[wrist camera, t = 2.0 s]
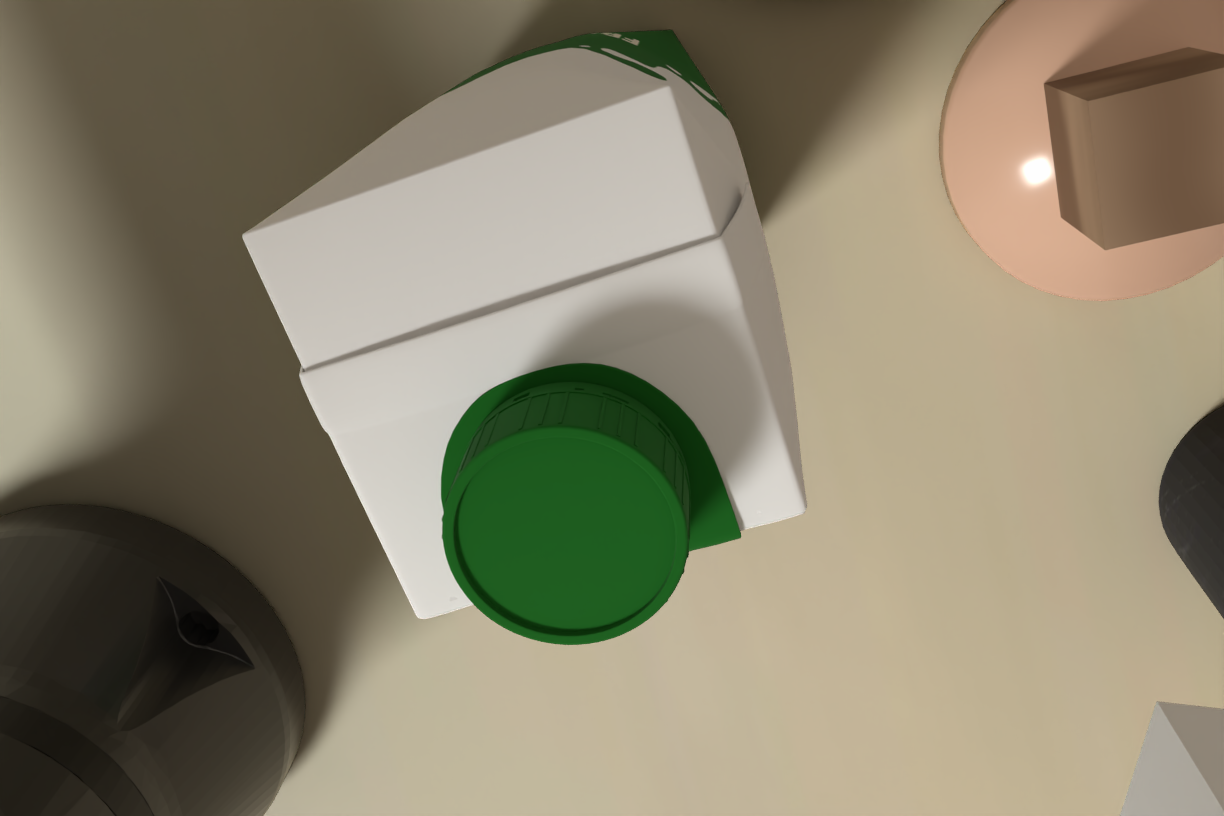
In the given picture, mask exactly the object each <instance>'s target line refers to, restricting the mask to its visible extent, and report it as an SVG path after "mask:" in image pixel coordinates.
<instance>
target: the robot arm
mask: <svg viewBox="0 0 1224 816" xmlns="http://www.w3.org/2000/svg"><path fill="white" fill-rule="evenodd" d="M304 719H305V692H304V685H303V679H302V675H301V670H300V666H299V663H298V660H297V657H296V654H295V651H294V649H293V646H292V644H291V641H290V639H289V637H288V635H287V633H286V631H285V629H284V628H283V626H282V624H281V623H280V621H279V619H278V617H277V616H276V614H275V613H274V612H273V610H272V609H271V607H270V606H269V604H268V603H267V602H266V601H265V599H264V598H263V597H262V596H261V594H260V593H259V592H258V591H257V590H256V589H255V588H254V587H253V585H252V584H251V583H250V582H249V581H248V580H247V579H246V578H245V577H244V576H243V575H242V574H241V573H240V572H239V571H237V570H236V569H235V568H234V567H233V566H232V565H230V564H229V563H228V562H227V561H226V560H224V559H223V558H222V557H220V556H219V555H218V554H216V553H215V552H213V551H212V550H210V549H209V548H207V547H206V546H204V545H203V544H201V543H200V542H198V541H196V540H194V539H193V538H191V537H189V536H187V535H186V534H184V533H182V532H180V531H178V530H175V529H173V528H171V527H169V526H167V525H164V524H162V523H159V522H157V521H154V520H151V519H149V518H146V517H143V516H140V515H136V514H132V513H129V512H125V511H120V510H116V509H111V508H104V507H97V506H87V505H50V506H42V507H34V508H29V509H25V510H20V511H16V512H13V513H10V514H6V515H4V516H1V517H0V816H264V814H265V813H266V811H267V810H268V809H269V807H270V806H271V804H272V802H273V801H274V799H275V797H276V795H277V793H278V791H279V789H280V787H281V785H282V783H283V781H284V779H285V777H286V775H287V773H288V771H289V769H290V766H291V764H292V762H293V760H294V758H295V755H296V753H297V750H298V747H299V744H300V741H301V737H302V733H303V727H304ZM1120 816H1224V709H1220V708H1211V707H1202V706H1193V705H1184V704H1175V703H1167V702H1158V701H1157V702H1156V705H1155V708H1154V711H1153V714H1152V718H1151V721H1150V724H1149V727H1148V730H1147V733H1146V736H1145V739H1144V742H1143V746H1142V749H1141V752H1140V755H1139V758H1138V761H1137V764H1136V767H1135V770H1134V774H1133V777H1132V780H1131V783H1130V786H1129V789H1128V792H1127V795H1126V798H1125V802H1124V805H1123V808H1122V811H1121V814H1120Z"/></svg>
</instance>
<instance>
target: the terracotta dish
mask: <svg viewBox="0 0 1224 816" xmlns="http://www.w3.org/2000/svg"><path fill="white" fill-rule="evenodd" d="M1186 47H1191V48H1196V49H1201V50H1205V51H1210V52H1215V53H1219V54H1224V0H1007V1H1006V2H1005V3H1004V4H1003V5H1001V6H1000V7H999V8H998V9H997V10H996V11H995V12H994V14H993V15H992V16H991V17H990V18H989V19H988V20H987V21H986V23H985V24H984V25H983V26H982V27H981V28H980V30H979V31H978V33H977V34H976V36H975V37H974V38H973V40H972V41H971V43H970V44H969V45H968V47H967V49H966V51H965V52H964V54H963V56H962V58H961V60H960V62H959V64H958V65H957V67H956V70H955V72H954V75H953V77H952V80H951V82H950V85H949V87H948V90H947V94H946V98H945V101H944V105H943V109H942V115H941V122H940V130H939V158H940V165H941V173H942V178H943V182H944V185H945V189H946V192H947V196H948V198H949V201H950V203H951V205H952V207H953V210H954V212H955V214H956V216H957V218H958V219H959V221H960V222H961V224H962V225H963V227H964V229H965V230H966V232H967V233H968V234H969V235H970V237H971V238H972V239H973V240H974V241H975V242H976V244H977V245H978V246H979V247H980V248H981V249H982V250H983V251H984V252H985V253H986V254H987V255H988V257H990V258H991V259H992V260H993V261H994V262H995V263H996V264H998V265H999V266H1000V267H1001V268H1002V269H1003V270H1005V271H1006V272H1008V273H1009V274H1011V275H1012V276H1014V277H1015V278H1017V279H1018V280H1020V281H1022V282H1024V283H1026V284H1028V285H1030V286H1032V287H1034V288H1037V289H1039V290H1041V291H1045V292H1048V293H1051V294H1054V295H1057V296H1061V297H1067V298H1073V299H1079V300H1096V301H1107V300H1119V299H1128V298H1132V297H1137V296H1142V295H1147V294H1150V293H1153V292H1157V291H1160V290H1163V289H1166V288H1169V287H1171V286H1173V285H1176V284H1178V283H1180V282H1182V281H1184V280H1187V279H1189V278H1191V277H1193V276H1194V275H1196V274H1198V273H1199V272H1201V271H1203V270H1204V269H1206V268H1208V267H1209V266H1211V265H1212V264H1214V263H1215V262H1216V261H1218V260H1219V259H1220V258H1222V257H1223V256H1224V223H1223V224H1218V225H1214V226H1210V227H1205V228H1201V229H1197V230H1192V231H1188V232H1183V233H1179V234H1175V235H1170V236H1166V237H1162V238H1157V239H1153V240H1149V241H1144V242H1140V243H1136V244H1131V245H1127V246H1123V247H1118V248H1114V249H1109V250H1104V249H1103V248H1101V247H1100V246H1099V245H1097V244H1096V243H1094V242H1093V241H1092V240H1090V239H1089V238H1088V237H1086V236H1085V235H1084V234H1082V233H1081V232H1080V231H1078V230H1077V229H1076V228H1074V227H1073V226H1072V225H1070V224H1069V223H1068V222H1066V221H1065V220H1063V219H1062V218H1061V215H1060V208H1059V200H1058V192H1057V184H1056V176H1055V169H1054V161H1053V153H1052V145H1051V137H1050V129H1049V122H1048V114H1047V106H1046V98H1045V90H1044V83H1047V82H1051V81H1055V80H1059V79H1063V78H1067V77H1071V76H1075V75H1079V74H1083V73H1087V72H1091V71H1095V70H1099V69H1103V68H1107V67H1111V66H1115V65H1119V64H1123V63H1127V62H1131V61H1135V60H1139V59H1143V58H1147V57H1151V56H1155V55H1159V54H1163V53H1166V52H1170V51H1174V50H1178V49H1182V48H1186Z"/></svg>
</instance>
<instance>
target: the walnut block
mask: <svg viewBox="0 0 1224 816" xmlns="http://www.w3.org/2000/svg"><path fill="white" fill-rule="evenodd" d="M1044 90H1045V98H1046V106H1047V114H1048V122H1049V129H1050V137H1051V145H1052V153H1053V161H1054V169H1055V176H1056V184H1057V192H1058V200H1059V208H1060V215H1061V218H1062V219H1063V220H1065V221H1066V222H1068V223H1069V224H1070V225H1072V226H1073V227H1074V228H1076V229H1077V230H1078V231H1080V232H1081V233H1082V234H1084V235H1085V236H1086V237H1088V238H1089V239H1090V240H1092V241H1093V242H1094V243H1096V244H1097V245H1099V246H1100V247H1101V248H1103V249H1104V250H1109V249H1114V248H1118V247H1123V246H1127V245H1131V244H1136V243H1140V242H1144V241H1149V240H1153V239H1157V238H1162V237H1166V236H1170V235H1175V234H1179V233H1183V232H1188V231H1192V230H1197V229H1201V228H1205V227H1210V226H1214V225H1218V224H1223V223H1224V54H1219V53H1215V52H1210V51H1205V50H1201V49H1196V48H1191V47H1186V48H1182V49H1178V50H1174V51H1170V52H1166V53H1163V54H1159V55H1155V56H1151V57H1147V58H1143V59H1139V60H1135V61H1131V62H1127V63H1123V64H1119V65H1115V66H1111V67H1107V68H1103V69H1099V70H1095V71H1091V72H1087V73H1083V74H1079V75H1075V76H1071V77H1067V78H1063V79H1059V80H1055V81H1051V82H1047V83H1044Z"/></svg>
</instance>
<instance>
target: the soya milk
mask: <svg viewBox="0 0 1224 816" xmlns="http://www.w3.org/2000/svg"><path fill="white" fill-rule="evenodd" d="M242 237H243V240H244V242H245V245H246V247H247V249H248V251H249V253H250V256H251V258H252V260H253V262H254V264H255V267H256V269H257V271H258V273H259V275H260V277H261V279H262V282H263V284H264V286H265V288H266V290H267V292H268V294H269V296H270V299H271V301H272V303H273V305H274V307H275V309H276V311H277V314H278V316H279V318H280V320H281V322H282V324H283V326H284V329H285V331H286V333H287V335H288V337H289V339H290V341H291V344H292V346H293V348H294V350H295V352H296V354H297V356H298V358H299V361H300V363H301V368H300V373H299V377H300V380H301V383H302V386H303V388H304V390H305V392H306V394H307V397H308V399H309V401H310V403H311V405H312V408H313V410H314V412H315V414H316V416H317V418H318V420H319V422H320V424H321V426H322V427H323V429H324V430H325V431H326V432H327V433H328V434H329V436H330V438H331V440H332V442H333V445H334V447H335V449H336V451H337V453H338V455H339V457H340V459H341V462H342V464H343V466H344V468H345V470H346V472H347V474H348V476H349V478H350V480H351V482H352V484H353V486H354V488H355V491H356V493H357V495H358V497H359V499H360V501H361V503H362V505H363V507H364V509H365V511H366V513H367V515H368V517H369V519H370V522H371V524H372V526H373V528H374V530H375V532H376V534H377V536H378V538H379V540H380V542H381V544H382V546H383V548H384V550H385V552H386V554H387V557H388V559H389V561H390V563H391V565H392V567H393V569H394V571H395V573H396V575H397V577H398V579H399V581H400V583H401V585H402V587H403V589H404V592H405V594H406V596H407V598H408V600H409V602H410V604H411V606H412V608H413V610H414V612H415V614H416V616H417V617H418V618H421V619H428V618H432V617H435V616H439V615H443V614H446V613H449V612H453V611H456V610H459V609H462V608H465V607H468V606H471V605H475V606H476V607H477V608H478V609H479V610H480V611H481V612H482V613H483V614H485V615H486V616H487V617H489V618H490V619H491V620H493V621H494V622H496V623H497V624H499V625H500V626H502V627H504V628H506V629H508V630H510V631H512V632H514V633H516V634H519V635H521V636H524V637H527V638H530V639H533V640H537V641H541V642H546V643H553V644H563V645H579V644H589V643H595V642H600V641H605V640H608V639H611V638H614V637H617V636H620V635H622V634H624V633H626V632H629V631H631V630H632V629H634V628H636V627H638V626H639V625H641V624H642V623H644V622H645V621H647V620H648V619H649V618H650V617H652V616H653V615H654V614H655V613H656V612H657V611H658V610H659V609H660V608H661V607H662V606H663V605H664V604H665V603H666V602H667V601H668V599H669V597H670V596H671V594H672V593H673V591H674V590H675V588H676V586H677V584H678V582H679V580H680V578H681V576H682V574H683V573H684V567H685V563H686V559H687V557H688V555H689V551H692V550H696V549H700V548H705V547H709V546H713V545H717V544H721V543H724V542H728V541H732V540H735V539H739V538H741V532H740V531H742V530H745V529H749V528H753V527H757V526H761V525H765V524H769V523H774V522H778V521H781V520H785V519H788V518H791V517H795V516H798V515H801V514H803V513H804V512H805V510H806V508H807V501H806V494H805V487H804V480H803V473H802V465H801V455H800V444H799V434H798V423H797V414H796V405H795V396H794V387H793V378H792V369H791V363H790V357H789V352H788V347H787V341H786V336H785V330H784V325H783V320H782V314H781V309H780V304H779V299H778V293H777V288H776V283H775V278H774V274H773V269H772V265H771V261H770V256H769V252H768V248H767V244H766V240H765V235H764V232H763V228H762V225H761V221H760V218H759V215H758V211H757V208H756V205H755V201H754V197H753V193H752V190H751V186H750V182H749V178H748V175H747V171H746V167H745V164H744V160H743V156H742V153H741V150H740V147H739V143H738V141H737V138H736V135H735V132H734V130H733V128H732V125H731V123H730V121H729V119H728V117H727V115H726V113H725V111H724V109H723V107H722V106H721V104H720V103H719V101H718V99H717V98H716V96H715V95H714V93H713V92H712V90H711V88H710V87H709V85H708V84H707V82H706V81H705V79H704V78H703V76H702V75H701V73H700V72H699V70H698V69H697V67H696V66H695V64H694V63H693V61H692V60H691V58H690V57H689V55H688V54H687V52H686V51H685V49H684V48H683V46H682V45H681V43H680V42H679V40H678V39H677V37H676V35H675V34H674V32H673V30H660V31H637V32H609V33H591V34H585V35H580V36H575V37H572V38H569V39H566V40H563V41H560V42H557V43H553V44H549V45H545V46H542V47H539V48H536V49H533V50H529V51H526V52H524V53H521V54H519V55H516V56H514V57H511V58H509V59H506V60H504V61H502V62H500V63H498V64H496V65H494V66H492V67H490V68H487V69H485V70H483V71H481V72H479V73H477V74H475V75H473V76H472V77H470V78H468V79H467V80H465V81H463V82H462V83H460V84H459V85H457V86H455V87H454V88H452V89H451V90H449V91H447V92H446V93H444V94H443V95H441V96H440V97H438V98H436V99H435V100H433V101H432V102H430V103H428V104H427V105H425V106H424V107H422V108H421V109H419V110H417V111H416V112H414V113H413V114H411V115H410V116H408V117H407V118H405V119H404V120H402V121H401V122H399V123H398V124H397V125H395V126H394V127H393V128H391V129H390V130H388V131H387V132H386V133H384V134H383V135H382V136H380V137H379V138H378V139H376V140H375V141H374V142H372V143H371V144H370V145H368V146H367V147H365V148H364V149H363V150H361V151H360V152H359V153H357V154H356V155H355V156H353V157H352V158H350V159H349V160H348V161H346V162H345V163H344V164H342V165H341V166H340V167H338V168H337V169H335V170H334V171H333V172H331V173H330V174H329V175H327V176H326V177H324V178H323V179H321V180H320V181H319V182H317V183H316V184H314V185H313V186H311V187H310V188H309V189H307V190H306V191H304V192H303V193H301V194H300V195H299V196H297V197H296V198H294V199H293V200H292V201H290V202H289V203H287V204H286V205H284V206H283V207H282V208H280V209H279V210H277V211H276V212H274V213H273V214H272V215H270V216H269V217H267V218H266V219H264V220H263V221H262V222H260V223H259V224H257V225H256V226H254V227H253V228H251V229H250V230H248V231H247V232H245V233H244V234H243V235H242Z"/></svg>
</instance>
